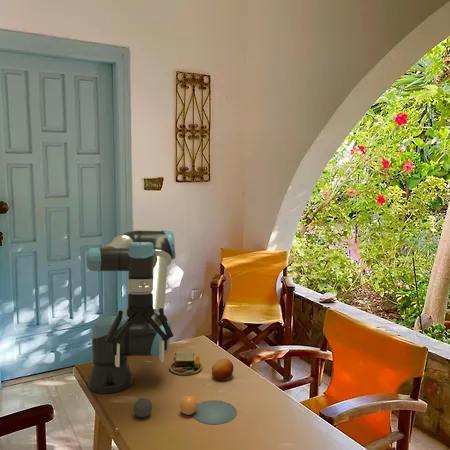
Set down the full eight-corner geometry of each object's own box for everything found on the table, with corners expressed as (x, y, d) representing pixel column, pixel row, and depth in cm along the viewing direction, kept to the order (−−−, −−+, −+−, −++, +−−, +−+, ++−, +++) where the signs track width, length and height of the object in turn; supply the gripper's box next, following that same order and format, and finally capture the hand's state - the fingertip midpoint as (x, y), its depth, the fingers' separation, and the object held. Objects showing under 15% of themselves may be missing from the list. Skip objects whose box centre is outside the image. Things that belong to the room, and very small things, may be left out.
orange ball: (176, 414, 144) (176, 397, 143) (187, 407, 148) (187, 390, 148) (190, 420, 141) (190, 402, 140) (201, 412, 145) (201, 395, 145)
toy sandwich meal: (166, 376, 170) (166, 364, 170) (171, 361, 184) (171, 349, 183) (200, 377, 170) (200, 364, 170) (203, 361, 184) (203, 350, 183)
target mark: (182, 415, 143) (182, 414, 143) (208, 396, 155) (208, 396, 155) (220, 429, 136) (220, 428, 136) (244, 408, 148) (244, 408, 148)
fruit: (236, 380, 164) (225, 360, 164) (217, 389, 166) (206, 369, 166) (240, 370, 172) (229, 351, 172) (222, 379, 174) (211, 360, 174)
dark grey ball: (130, 417, 142) (129, 400, 141) (142, 409, 146) (142, 393, 146) (143, 422, 139) (143, 405, 138) (155, 414, 143) (155, 397, 143)
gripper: (101, 295, 133) (99, 371, 132) (183, 292, 143) (183, 362, 142) (96, 293, 140) (95, 364, 139) (175, 290, 150) (175, 356, 149)
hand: (139, 363), depth 141 cm, fingers open, 13 cm apart
